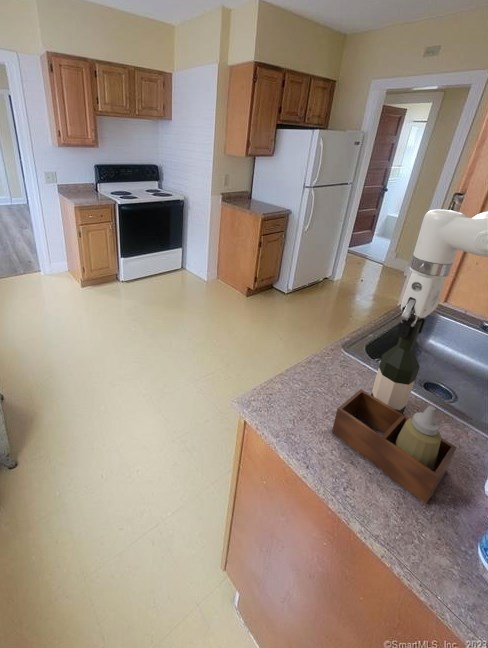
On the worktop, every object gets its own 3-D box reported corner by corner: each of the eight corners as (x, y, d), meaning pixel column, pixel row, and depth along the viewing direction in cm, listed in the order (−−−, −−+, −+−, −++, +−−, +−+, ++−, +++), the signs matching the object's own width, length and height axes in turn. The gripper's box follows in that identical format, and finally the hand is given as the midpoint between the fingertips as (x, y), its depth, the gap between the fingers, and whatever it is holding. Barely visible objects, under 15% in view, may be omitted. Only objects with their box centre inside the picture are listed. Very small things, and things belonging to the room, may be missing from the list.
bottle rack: (445, 472, 72) (457, 447, 69) (426, 504, 65) (437, 477, 62) (354, 411, 87) (360, 388, 84) (331, 432, 81) (337, 408, 78)
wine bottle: (409, 420, 85) (444, 323, 74) (381, 423, 84) (413, 325, 72) (388, 396, 93) (416, 305, 81) (362, 399, 91) (387, 307, 80)
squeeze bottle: (438, 486, 69) (466, 424, 62) (400, 485, 69) (424, 423, 62) (415, 452, 76) (438, 393, 70) (381, 451, 76) (401, 392, 70)
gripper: (434, 280, 64) (410, 355, 71) (462, 263, 74) (438, 330, 81) (395, 268, 70) (376, 339, 77) (426, 254, 80) (407, 317, 87)
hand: (408, 333), depth 79 cm, fingers open, 4 cm apart
